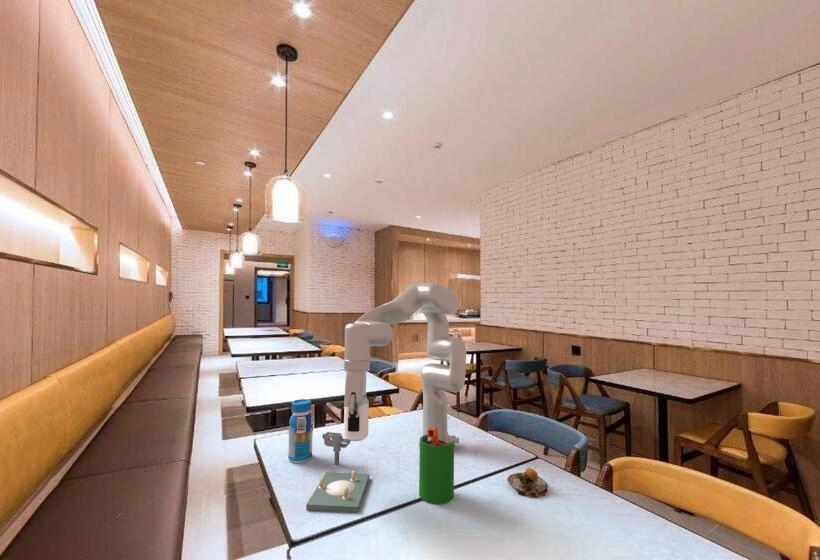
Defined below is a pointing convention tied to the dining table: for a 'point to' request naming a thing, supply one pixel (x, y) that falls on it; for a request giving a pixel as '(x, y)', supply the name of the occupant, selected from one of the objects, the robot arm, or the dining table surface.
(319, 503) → the pin board
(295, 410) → the beverage bottle
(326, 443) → the mechanical component
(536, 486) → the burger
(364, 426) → the can
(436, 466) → the motor
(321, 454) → the dining table surface
